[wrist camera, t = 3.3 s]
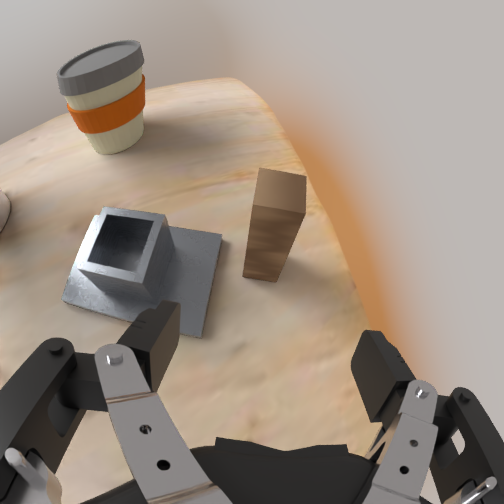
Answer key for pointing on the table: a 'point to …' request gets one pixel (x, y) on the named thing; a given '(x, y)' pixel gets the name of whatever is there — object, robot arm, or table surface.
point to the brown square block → (274, 222)
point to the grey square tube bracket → (143, 268)
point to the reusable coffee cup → (106, 94)
